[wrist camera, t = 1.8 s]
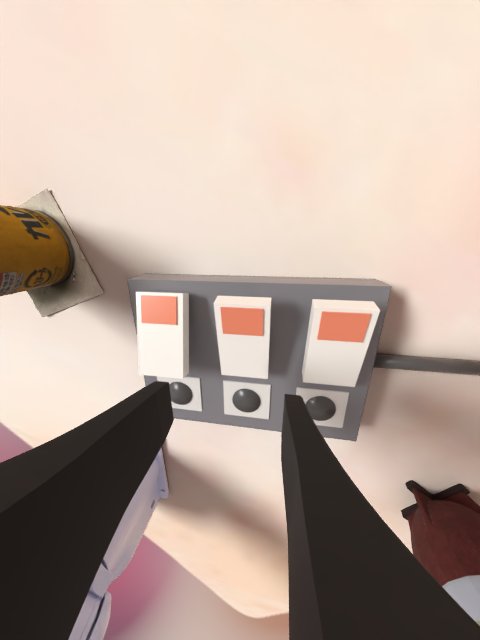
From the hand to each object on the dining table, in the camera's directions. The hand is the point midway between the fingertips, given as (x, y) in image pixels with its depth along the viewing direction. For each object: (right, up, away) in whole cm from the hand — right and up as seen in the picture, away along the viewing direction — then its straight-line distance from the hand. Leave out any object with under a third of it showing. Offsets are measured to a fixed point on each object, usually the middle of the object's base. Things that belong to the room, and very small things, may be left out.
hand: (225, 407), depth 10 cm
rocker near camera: (+6, +2, +4) cm, 8 cm away
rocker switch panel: (+6, +1, +9) cm, 11 cm away
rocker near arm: (-5, +3, +6) cm, 8 cm away
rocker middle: (+1, +2, +5) cm, 6 cm away
